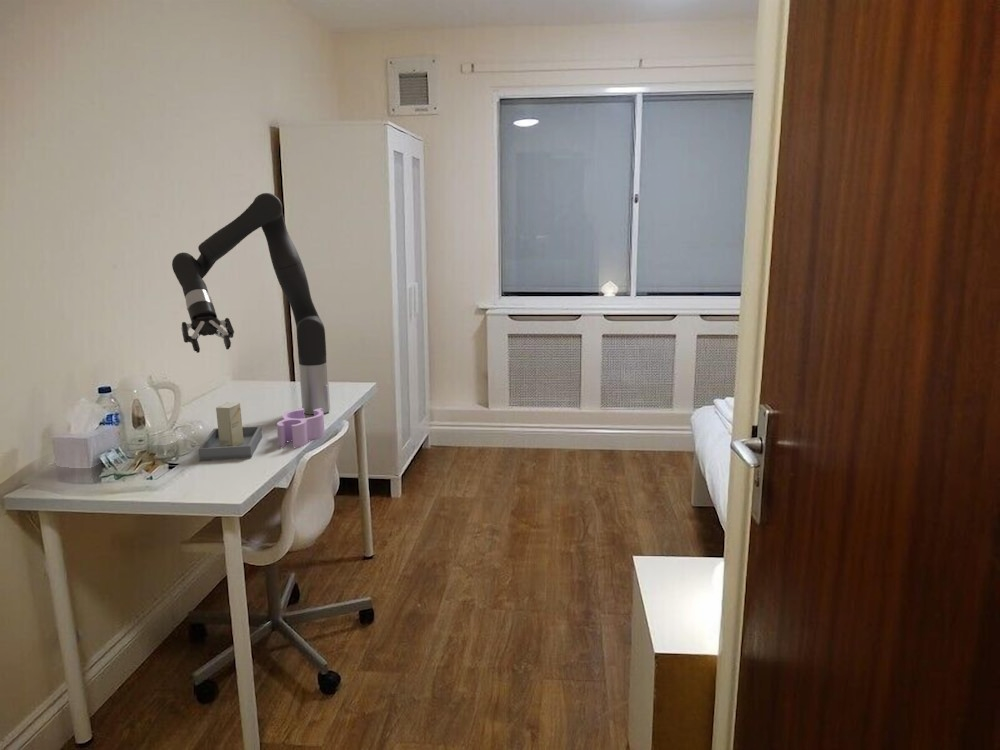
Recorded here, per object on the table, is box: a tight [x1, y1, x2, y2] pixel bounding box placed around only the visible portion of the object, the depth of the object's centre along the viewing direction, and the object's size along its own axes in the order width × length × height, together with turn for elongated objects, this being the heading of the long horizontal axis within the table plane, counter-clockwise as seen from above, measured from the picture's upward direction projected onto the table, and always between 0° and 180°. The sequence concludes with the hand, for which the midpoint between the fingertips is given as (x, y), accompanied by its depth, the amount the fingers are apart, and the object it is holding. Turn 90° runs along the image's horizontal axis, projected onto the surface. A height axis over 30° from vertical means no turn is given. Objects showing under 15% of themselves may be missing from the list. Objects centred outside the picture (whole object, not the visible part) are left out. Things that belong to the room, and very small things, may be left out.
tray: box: [197, 425, 263, 462], centre depth 213 cm, size 14×20×4 cm
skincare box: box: [215, 402, 244, 447], centre depth 212 cm, size 6×4×12 cm
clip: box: [276, 407, 326, 448], centre depth 222 cm, size 20×12×7 cm, turn 174°
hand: (213, 349), depth 217 cm, fingers open, 8 cm apart
